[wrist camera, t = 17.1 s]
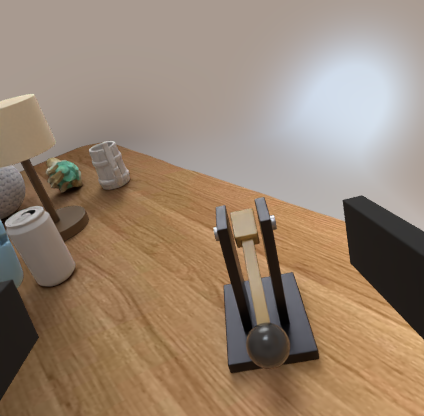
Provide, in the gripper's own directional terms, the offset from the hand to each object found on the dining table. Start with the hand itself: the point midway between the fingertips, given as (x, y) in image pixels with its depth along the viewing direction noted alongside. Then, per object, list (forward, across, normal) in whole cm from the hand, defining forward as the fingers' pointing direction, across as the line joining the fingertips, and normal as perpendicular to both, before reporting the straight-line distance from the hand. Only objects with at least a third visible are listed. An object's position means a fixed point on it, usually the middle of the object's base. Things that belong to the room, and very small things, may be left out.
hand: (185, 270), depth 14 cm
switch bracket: (+23, +4, -20) cm, 30 cm away
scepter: (+89, -39, -8) cm, 98 cm away
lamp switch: (+17, +4, -12) cm, 21 cm away
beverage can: (+43, -26, -17) cm, 53 cm away
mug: (+75, -20, -11) cm, 78 cm away
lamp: (+60, -30, -14) cm, 68 cm away
